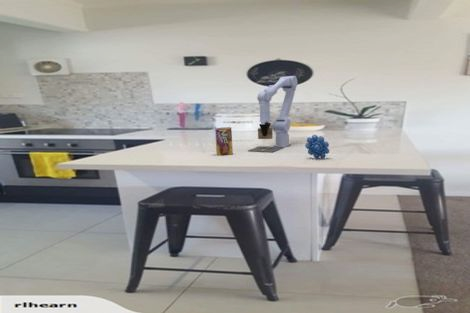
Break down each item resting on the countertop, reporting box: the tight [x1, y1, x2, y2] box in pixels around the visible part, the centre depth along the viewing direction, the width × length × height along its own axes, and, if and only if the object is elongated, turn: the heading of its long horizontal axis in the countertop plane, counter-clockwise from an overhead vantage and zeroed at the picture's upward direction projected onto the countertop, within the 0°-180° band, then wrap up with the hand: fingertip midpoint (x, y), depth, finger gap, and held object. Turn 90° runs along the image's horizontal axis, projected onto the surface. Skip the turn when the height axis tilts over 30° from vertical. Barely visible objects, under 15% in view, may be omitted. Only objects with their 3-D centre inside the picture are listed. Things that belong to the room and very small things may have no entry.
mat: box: [247, 145, 284, 154], centre depth 198 cm, size 16×16×1 cm
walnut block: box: [257, 127, 273, 140], centre depth 196 cm, size 4×8×6 cm, turn 76°
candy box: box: [214, 126, 234, 156], centre depth 187 cm, size 9×4×15 cm, turn 101°
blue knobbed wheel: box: [304, 134, 330, 160], centre depth 164 cm, size 12×7×12 cm, turn 73°
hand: (265, 135), depth 196 cm, fingers closed on walnut block, 4 cm apart
